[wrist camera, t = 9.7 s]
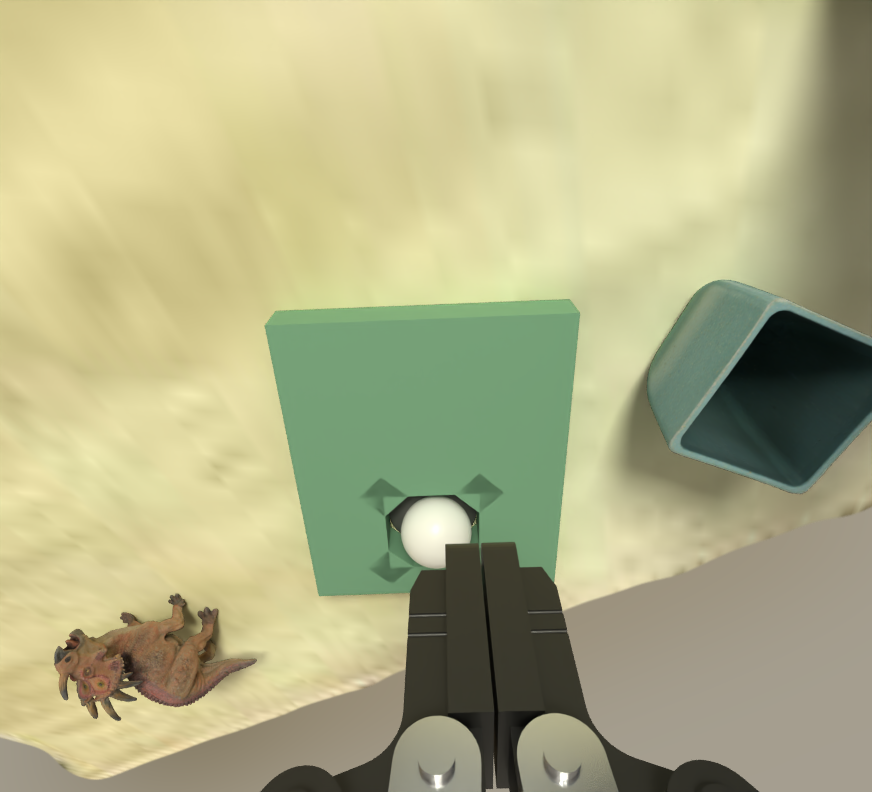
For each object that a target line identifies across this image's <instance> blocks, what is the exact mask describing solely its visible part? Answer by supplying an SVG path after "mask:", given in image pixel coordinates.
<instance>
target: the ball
mask: <svg viewBox="0 0 872 792" xmlns="http://www.w3.org/2000/svg"><path fill="white" fill-rule="evenodd" d="M471 535H472V529H471V523H470V520H469V517H468V515H467V513H466V512H465V510H464V509H463V508H462V507H461V506H460V505H459V504H458V503H457V502H456V501H454V500H452V499H450V498H448V497H444V496H428V497H425V498H422V499H420V500H419V501H417V502H416V503H414V504H413V505H412V506H411V507H410V508H409V510H408V511H407V512H406V514H405V516H404V518H403V521H402V526H401V539H402V543H403V546H404V548H405V550H406V552H407V553H408V555H409V556H410V557H411V558H412V559H413V560H414V561H415V562H417V563H418V564H420V565H422V566H424V567H428V568H434V569H439V568H445V567H446V564H445V544H462V543H470V541H471Z"/></svg>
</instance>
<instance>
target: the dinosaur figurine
mask: <svg viewBox="0 0 872 792" xmlns="http://www.w3.org/2000/svg"><path fill="white" fill-rule="evenodd" d="M170 598H171V600H169V601H168V602H169V603H171V604H173V613H172V618H171V619H166V620H164V621H162V622H155V621H147V622H145V623H144V624H141V623H139V622H137V621H135V618H134V617H133V615H131V614H130V613H122V614H121V615H122V616H121V617H120V619H122V620H123V623H128V626H127V627H126V628H121V629H116V630H112V631H110V632H108V633H106V634H105V635H103V636H101V637H99V638H94V637H91V638H88V636H87V635H85V634H84V633H83V632H82V630H80V629H76V630H74V631H72V632H71V633H70V634H69V636H70V637H71V639H70V640H66V641H65V642H66V644H67V647H66V648H65V649H62V648H61V647H60V646H58V647H57V649H56V652H55V657H54V659H55V663H54V665H55V667H56V670H57V671H58V672H59V674H60V678H59V690H60V693H61V695H62V697H63V699H64V700H68V693H67V680H68V677H69V675H70V679H71V680H72V681H77V683H76V684H77V693H78V697H79V699H81V705H82V706H85V705H86V707H87V709H88V711H89V713H90V714H91V716H92V717H93V718H95V719H97V717H98V712H97V707H96V705H95V702H97V701H100V702H101V704H102V706H103V708H104V710H105V711H106V712H107V713H108V714H109V715H110V716H111V717H112V718H113V719H115V720H117V721H120V720H121V718H120V717H119V716H118V715H117V713H116V712H115V710H114V709H113V707H112V705H111V702H110V700H109V698H108V697H112V698H115V699H117V700H121V701H127V702H129V701H136V700H137V698H135V697H132V696H130V695H128V694H125V693H123V692H122V691H120V689H123V688H129V687H133V686H134V687H135V689H138V693H139V692H141V695H144V696H145V697H147V698H148V699H151V701H155V702H156V703H157V702H158V703H159V704H163V705H167V706H174V707H180V706H184V705H186V706H188V704H190V705H191V704H192V703H195V700H197V701H198V700H199V698H202V696H203V697H204V696H205V694H207V693H208V691H211V690H212V688H214V687H215V686H216V685H217V684H218V683H219V682H220V681H221V680H223V678H224V677H226V676H227V675H229V673H232V672H235V671H239V670H240V669H243V668H246V667H248V666H251V665H252V664H255V662H256V661H257V660H256V659H250V660H243V659H227V660H224V661H220V662H216V663H205V662H207V661H209V660H212V658H213V657H214V656H215V650H216V646H215V644H212V642H211V640H209V639H210V638H211V637H212V635H213V627H214V623H215V618H216V616H217V614H218V609H214V610H213V611H210V609H209V608H208V607H206V608H205V609H204V612H202V611H199V612H198V616H199V617H200V618H201V619H202V625H203V627H202V630H201V633H199V634H197V635H195V636H191V637H190V638H188V639H187V641H186V642H184V641H183V640H182V639H180V638H179V637H177V636H175V635H173V634H167V633H170V632H173V631H177V630H180V629H182V628H183V627H184V616H183V614H182V608H183V606H184V605H185V603H183V602H184V599H183V600H181V596H180V595H179V594H175V596H172V595H171V596H170ZM203 649H204V650H205V652H204V653H203V654H201V655H198V652H200V651H202V650H203ZM125 678H128V680H129V681H123V679H125ZM93 696H96V697H95V699H94V698H93Z"/></svg>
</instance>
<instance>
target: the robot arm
mask: <svg viewBox="0 0 872 792" xmlns="http://www.w3.org/2000/svg"><path fill="white" fill-rule="evenodd" d="M445 564H446V570H421V572H420V574H419V575H418V577H417V579H416V581H415V583H414V585H413V586H412V588H411V590H410V604H409V622H408V640H407V658H406V675H405V676H406V677H405V693H404V712H403V718H402V722H401V726H400V728H399V730H398V733H397V735H396V736H395V738H394V740H393V741H392V743H391V744H390V745H389V746H388V748H387V749H386V750H385V751H383V752H382V754H380V755H379V756H377V757H376V758H374V759H373V760H372V761H369V762H367V763H365V764H363V765H361V766H358V767H356V768H353V769H350V770H348V771H346V772H343V773H341V774H338V775H335V776H333V777H332V775H330V774H329V773H328V772H327V771H325V770H323V769H321V768H319V767H315V766H306V765H305V766H298V767H294V768H291V769H288V770H286V771H284V772H283V773H281V774H279V775H278V776H276V777H275V778H274V779H273V780H271V781H270V782H269V783H268V784H267V785H266V786H265V787H264V789H263V790H262V791H261V792H486V789H493V753H494V764H495V775H496V787H497V788H509V790H510V792H759V791H758V790H756V789H755V788H754V787H753V786H752V785H751V784H749V783H748V782H747V781H746V780H745V779H743V778H742V777H741V776H740V775H738V774H737V773H736V772H734V771H732V770H730V769H729V768H727V767H725V766H723V765H721V764H718V763H715V762H711V761H706V760H693V761H690V762H686V763H684V764H682V765H680V766H679V767H678V768H677V769H676V770H675V771H672V770H669V769H666V768H663V767H660V766H657V765H654V764H651V763H648V762H645V761H642V760H639V759H636V758H634V757H631V756H629V755H627V754H625V753H623V752H621V751H620V750H618V749H616V748H615V747H614V746H612V745H611V744H610V743H609V742H608V741H607V740H606V739H604V737H603V736H602V735H601V734H600V733H599V732H598V730H597V729H596V728H595V726H594V724H593V723H592V721H591V719H590V717H589V715H588V712H587V709H586V705H585V701H584V697H583V693H582V689H581V685H580V681H579V677H578V672H577V668H576V664H575V660H574V656H573V653H572V648H571V644H570V640H569V636H568V634H567V627H566V623H565V619H564V615H563V614H562V607H561V603H560V599H559V594H558V590H557V586H556V585H555V584H554V582H553V581H552V580H551V578H550V577H549V576H548V574H547V573H546V572H545V570H544V569H543V568H542V567H520V565H519V559H518V554H517V548H516V544H515V542H490V543H481V563H480V552H479V544H478V543H462V544H445Z"/></svg>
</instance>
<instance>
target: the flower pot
mask: <svg viewBox="0 0 872 792" xmlns="http://www.w3.org/2000/svg"><path fill="white" fill-rule="evenodd" d="M647 394H648V399H649V403H650V406H651V408H652V411H653V413H654V415H655V418H656V420H657V422H658V424H659V427H660V429H661V431H662V433H663V436H664V438H665V440H666V442H667V445H668V447H669V449H670V450H671V451H672V452H674V453H676V454H679V455H682V456H684V457H688V458H691V459H694V460H697V461H700V462H703V463H706V464H709V465H713V466H715V467H719V468H722V469H725V470H727V471H731V472H733V473H736V474H739V475H743V476H745V477H748V478H751V479H754V480H757V481H759V482H762V483H765V484H768V485H771V486H774V487H776V488H779V489H781V490H784V491H786V492H789V493H795V494H802V493H805V492H806V491H808V489H809V488H811V487H812V486H813V484H815V483H816V481H817V480H818V479H819V478H820V477H821V476H822V475H823V474H824V473H825V471H826V470H827V469H828V468H829V467H830V466H831V465H832V463H833V462H834V461H835V460H836V459H837V458H838V457H839V456H840V454H842V452H843V451H845V450H846V448H847V447H848V446H849V445H850V444H851V443H852V441H853V440H854V439H855V438H856V437H857V436H858V435H859V434H860V433H861V432H862V430H863V429H864V428H866V427H867V425H868V424H869V423H870V422H871V421H872V337H871V336H868V335H866V334H863V333H861V332H859V331H856V330H854V329H852V328H849V327H847V326H845V325H843V324H840V323H838V322H836V321H834V320H831V319H829V318H827V317H825V316H822V315H820V314H818V313H815V312H813V311H811V310H809V309H806V308H804V307H802V306H800V305H797V304H796V303H793V302H791V301H789V300H787V299H784V298H781V297H778V296H775V295H773V294H770V293H768V292H765V291H762V290H759V289H756V288H754V287H751V286H748V285H745V284H743V283H740V282H736V281H731V280H718V281H713V282H711V283H708V284H706V285H705V286H703V287H702V288H701V289H699V290H698V291H697V292H696V293H695V294H694V296H693V297H692V299H691V300H690V302H689V303H688V305H687V306H686V308H685V309H684V311H683V313H682V314H681V316H680V317H679V319H678V321H677V322H676V324H675V325H674V327H673V328H672V330H671V332H670V333H669V334H668V336H667V337H666V339H665V340H664V342H663V344H662V345H661V347H660V348H659V350H658V351H657V353H656V355H655V357H654V360H653V362H652V364H651V367H650V370H649V373H648V378H647Z"/></svg>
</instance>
